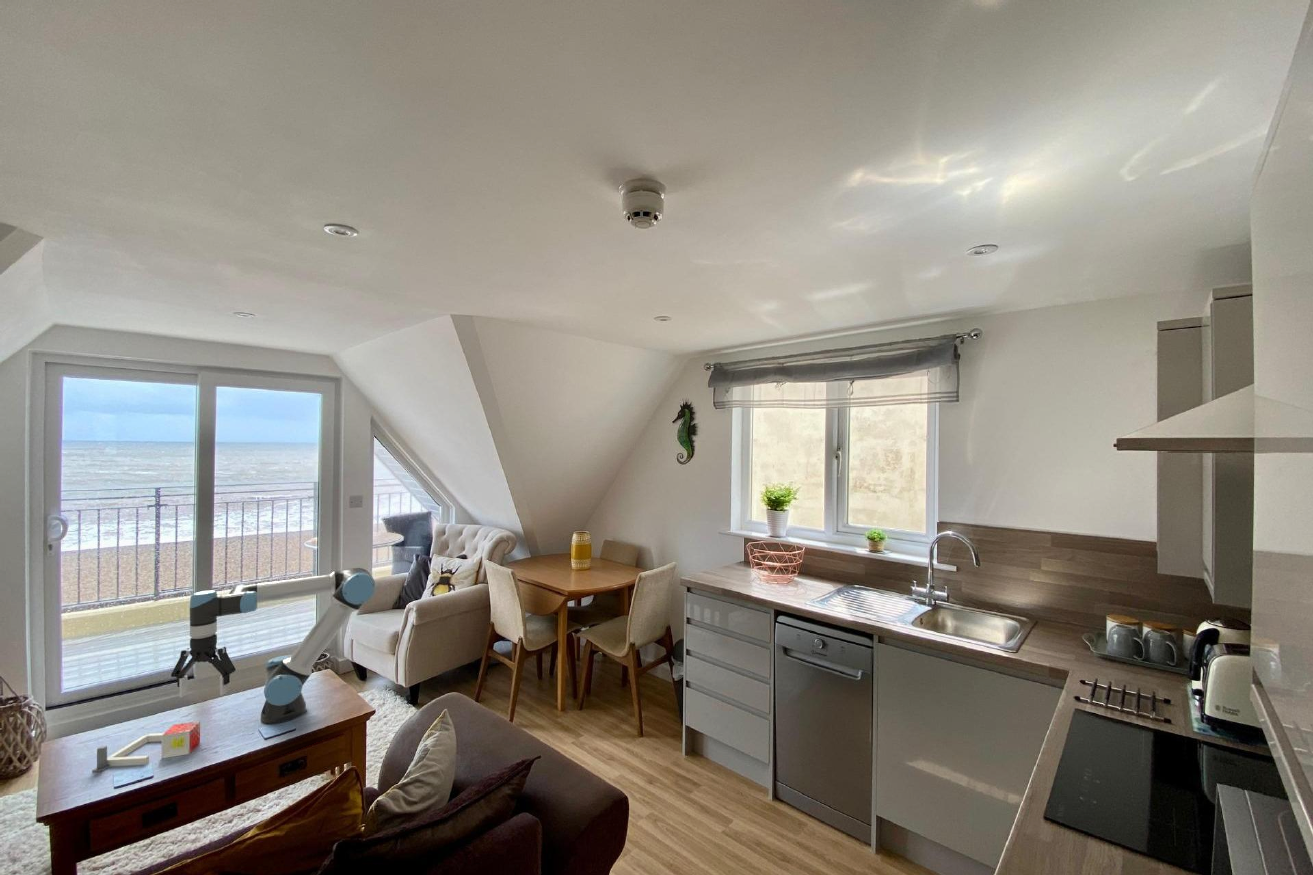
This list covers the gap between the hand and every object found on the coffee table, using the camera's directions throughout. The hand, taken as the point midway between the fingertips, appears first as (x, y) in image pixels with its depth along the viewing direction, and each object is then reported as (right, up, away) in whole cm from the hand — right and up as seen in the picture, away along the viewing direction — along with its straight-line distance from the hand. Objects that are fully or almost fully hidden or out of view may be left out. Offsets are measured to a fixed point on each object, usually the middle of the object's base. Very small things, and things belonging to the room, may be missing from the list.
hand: (203, 694), depth 196 cm
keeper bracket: (-19, -19, -4) cm, 27 cm away
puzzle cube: (-7, -19, -2) cm, 20 cm away
